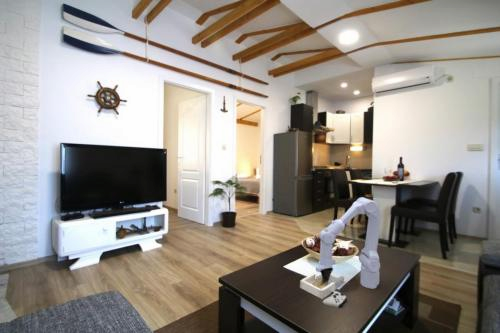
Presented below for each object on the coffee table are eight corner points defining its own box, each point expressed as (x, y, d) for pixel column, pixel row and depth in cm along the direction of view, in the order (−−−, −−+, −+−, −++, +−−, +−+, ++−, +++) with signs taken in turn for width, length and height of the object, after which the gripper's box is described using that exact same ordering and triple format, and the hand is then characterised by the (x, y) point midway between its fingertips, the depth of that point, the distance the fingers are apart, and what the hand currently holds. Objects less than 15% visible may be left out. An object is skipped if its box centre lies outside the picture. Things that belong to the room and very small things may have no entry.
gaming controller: (331, 291, 109) (342, 285, 105) (340, 305, 106) (351, 298, 102) (320, 302, 100) (331, 295, 97) (330, 317, 97) (342, 311, 94)
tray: (313, 282, 119) (313, 273, 119) (334, 292, 110) (335, 283, 109) (300, 289, 112) (300, 280, 111) (321, 301, 102) (322, 291, 102)
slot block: (325, 275, 126) (325, 269, 126) (346, 284, 117) (346, 278, 117) (313, 281, 119) (313, 275, 119) (335, 292, 110) (335, 285, 110)
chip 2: (320, 282, 116) (320, 278, 116) (328, 286, 113) (328, 281, 113) (316, 285, 113) (316, 280, 113) (323, 289, 110) (323, 283, 110)
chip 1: (316, 285, 113) (316, 280, 113) (323, 289, 110) (323, 284, 110) (311, 288, 111) (311, 283, 111) (318, 292, 108) (319, 286, 108)
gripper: (326, 249, 123) (326, 274, 123) (310, 256, 113) (310, 283, 114) (339, 253, 117) (338, 279, 118) (323, 260, 108) (322, 289, 108)
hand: (325, 281), depth 115 cm, fingers closed
